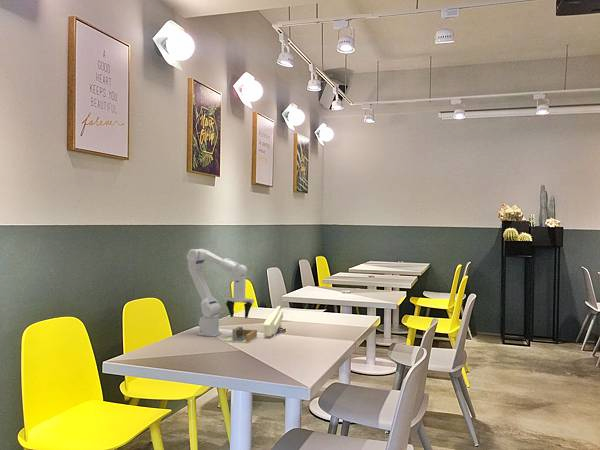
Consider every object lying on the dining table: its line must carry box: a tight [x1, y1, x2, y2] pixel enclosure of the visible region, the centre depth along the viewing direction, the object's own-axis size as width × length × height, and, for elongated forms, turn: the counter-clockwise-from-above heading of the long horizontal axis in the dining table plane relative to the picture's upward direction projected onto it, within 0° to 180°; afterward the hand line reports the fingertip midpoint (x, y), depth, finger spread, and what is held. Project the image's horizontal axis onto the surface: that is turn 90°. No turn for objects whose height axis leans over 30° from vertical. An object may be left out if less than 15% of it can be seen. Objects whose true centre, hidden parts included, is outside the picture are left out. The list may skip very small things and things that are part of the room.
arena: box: [223, 328, 258, 344], centre depth 243 cm, size 12×12×4 cm
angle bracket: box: [231, 326, 246, 341], centre depth 241 cm, size 8×5×5 cm, turn 165°
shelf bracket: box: [262, 305, 284, 337], centre depth 258 cm, size 6×25×13 cm, turn 168°
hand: (239, 317), depth 248 cm, fingers open, 7 cm apart
